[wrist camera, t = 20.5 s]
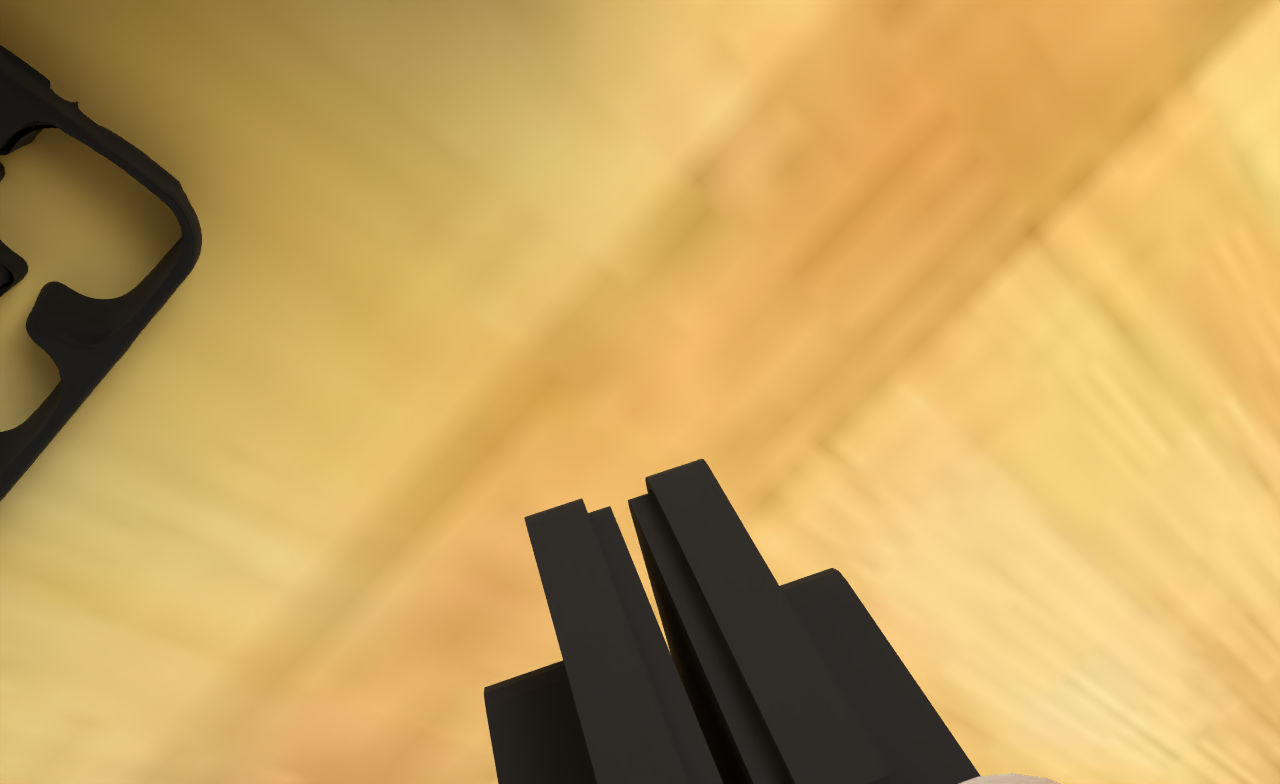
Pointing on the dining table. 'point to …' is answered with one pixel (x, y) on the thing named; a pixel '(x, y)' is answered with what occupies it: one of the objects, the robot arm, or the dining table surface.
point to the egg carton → (63, 319)
